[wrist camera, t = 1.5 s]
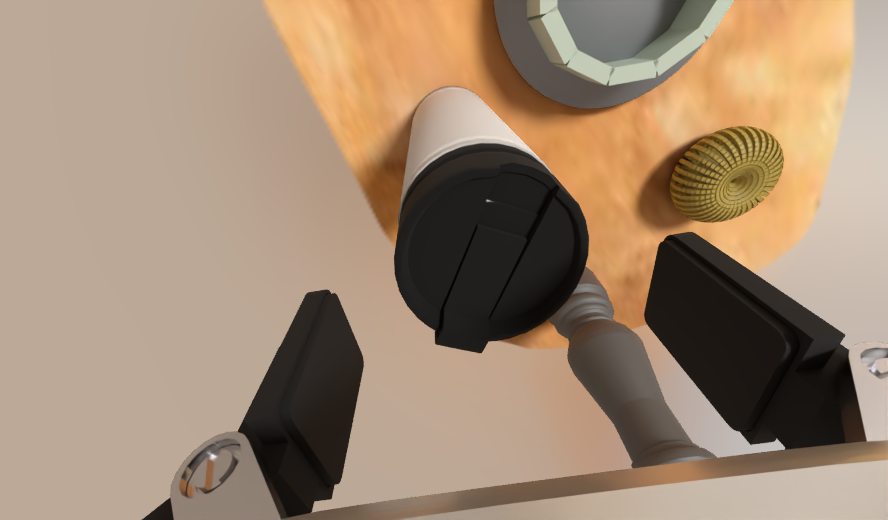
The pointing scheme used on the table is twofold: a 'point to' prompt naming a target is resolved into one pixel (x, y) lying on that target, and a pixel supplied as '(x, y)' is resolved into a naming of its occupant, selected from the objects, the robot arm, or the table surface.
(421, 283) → the travel mug
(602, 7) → the mug dock
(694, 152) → the sculpture
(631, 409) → the candle holder
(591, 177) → the table surface
